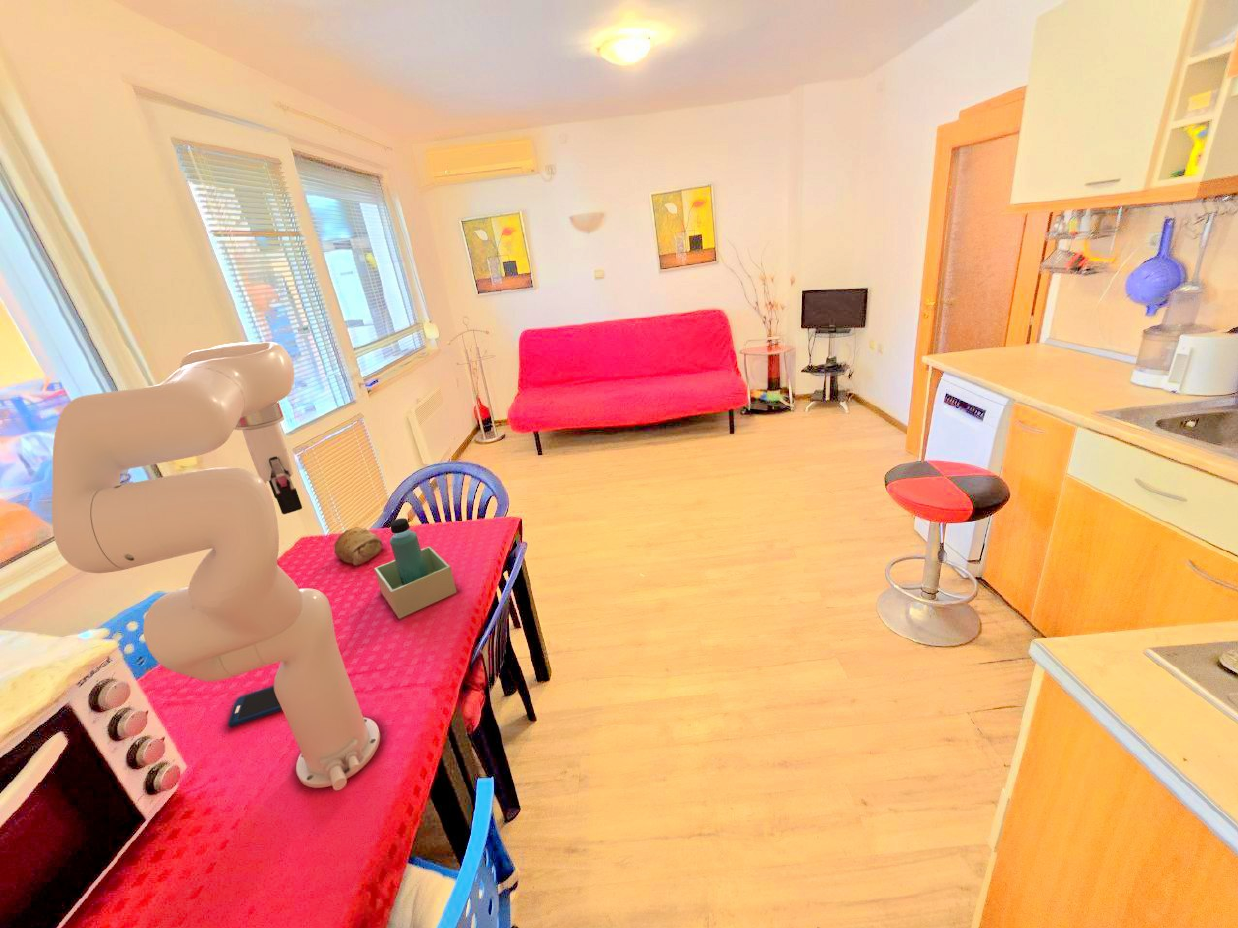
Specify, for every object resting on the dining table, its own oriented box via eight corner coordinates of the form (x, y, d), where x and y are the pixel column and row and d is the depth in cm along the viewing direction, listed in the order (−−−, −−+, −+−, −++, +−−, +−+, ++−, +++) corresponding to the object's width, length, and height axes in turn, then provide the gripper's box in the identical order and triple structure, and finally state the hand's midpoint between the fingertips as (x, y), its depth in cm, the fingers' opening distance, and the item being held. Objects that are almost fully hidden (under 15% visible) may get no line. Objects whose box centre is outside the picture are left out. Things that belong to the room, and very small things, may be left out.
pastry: (344, 546, 153) (336, 523, 150) (387, 539, 156) (380, 516, 153) (330, 571, 140) (322, 546, 137) (378, 562, 143) (370, 537, 140)
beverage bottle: (437, 587, 128) (419, 517, 120) (415, 602, 123) (394, 530, 115) (421, 580, 131) (402, 512, 124) (398, 594, 126) (378, 524, 119)
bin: (456, 592, 126) (450, 566, 123) (399, 619, 118) (391, 591, 115) (436, 570, 136) (429, 546, 134) (381, 593, 128) (374, 568, 125)
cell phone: (237, 700, 98) (236, 697, 98) (317, 674, 103) (316, 671, 103) (227, 728, 92) (226, 725, 91) (313, 699, 97) (312, 696, 96)
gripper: (227, 413, 92) (260, 497, 99) (234, 430, 80) (271, 525, 86) (275, 403, 97) (303, 484, 103) (288, 418, 84) (319, 510, 90)
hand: (288, 503), depth 94 cm, fingers open, 9 cm apart
